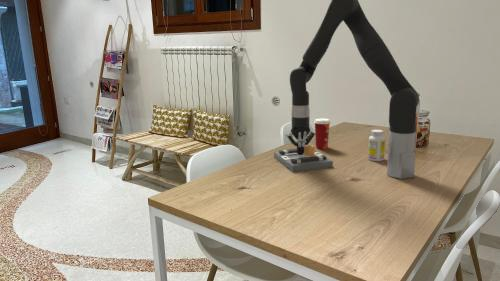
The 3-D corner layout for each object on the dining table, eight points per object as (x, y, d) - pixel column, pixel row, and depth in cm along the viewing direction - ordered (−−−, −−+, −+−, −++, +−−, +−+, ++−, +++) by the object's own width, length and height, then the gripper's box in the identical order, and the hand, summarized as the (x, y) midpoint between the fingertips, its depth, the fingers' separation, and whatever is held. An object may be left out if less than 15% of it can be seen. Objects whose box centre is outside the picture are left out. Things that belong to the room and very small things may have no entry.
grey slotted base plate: (326, 165, 163) (326, 156, 162) (293, 169, 159) (293, 160, 158) (309, 154, 179) (309, 146, 178) (279, 158, 175) (279, 150, 174)
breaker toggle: (314, 156, 167) (314, 144, 166) (308, 157, 166) (308, 145, 165) (309, 153, 172) (309, 141, 170) (303, 154, 171) (303, 142, 170)
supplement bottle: (382, 157, 172) (383, 128, 168) (385, 161, 165) (387, 132, 162) (366, 157, 172) (367, 129, 169) (369, 161, 166) (370, 132, 163)
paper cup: (331, 149, 186) (331, 121, 182) (315, 150, 186) (315, 121, 182) (328, 145, 193) (328, 117, 190) (312, 145, 193) (313, 118, 190)
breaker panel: (332, 166, 161) (332, 159, 160) (292, 171, 156) (292, 164, 155) (310, 152, 181) (310, 146, 181) (274, 157, 177) (273, 150, 176)
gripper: (289, 118, 158) (289, 158, 162) (318, 115, 162) (318, 155, 166) (282, 115, 165) (283, 154, 169) (311, 112, 169) (310, 150, 173)
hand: (300, 154), depth 168 cm, fingers closed
